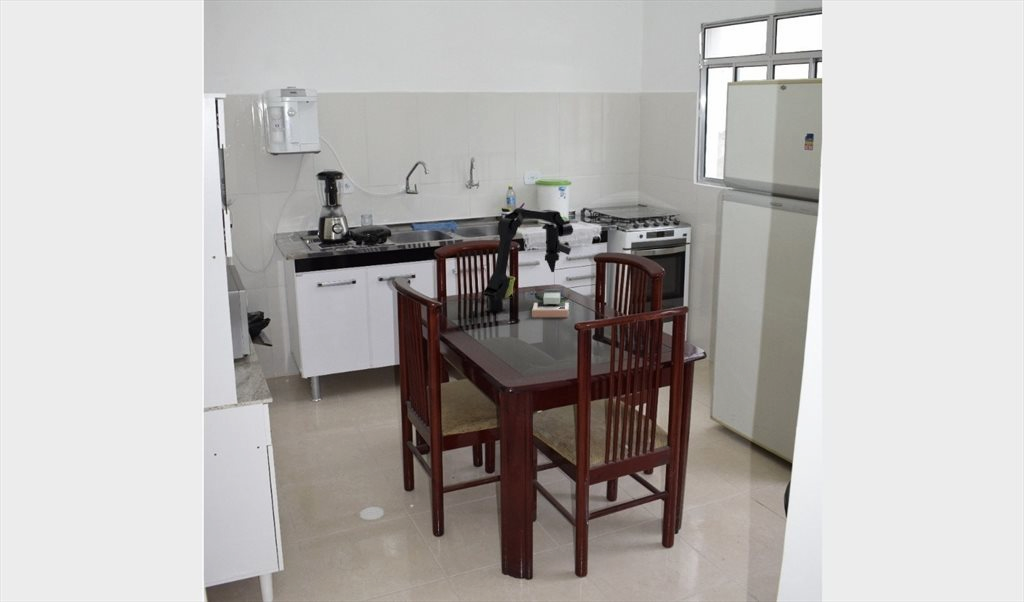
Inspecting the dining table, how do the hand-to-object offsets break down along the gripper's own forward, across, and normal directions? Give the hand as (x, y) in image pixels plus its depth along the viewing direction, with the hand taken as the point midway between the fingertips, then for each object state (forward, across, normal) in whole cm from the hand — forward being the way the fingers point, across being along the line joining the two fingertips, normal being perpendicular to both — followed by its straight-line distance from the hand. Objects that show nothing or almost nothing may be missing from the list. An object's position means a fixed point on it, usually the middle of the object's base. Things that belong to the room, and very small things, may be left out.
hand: (552, 272), depth 356 cm
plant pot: (+12, 0, +22) cm, 25 cm away
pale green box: (+12, -12, 0) cm, 17 cm away
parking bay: (+12, -25, 0) cm, 27 cm away
